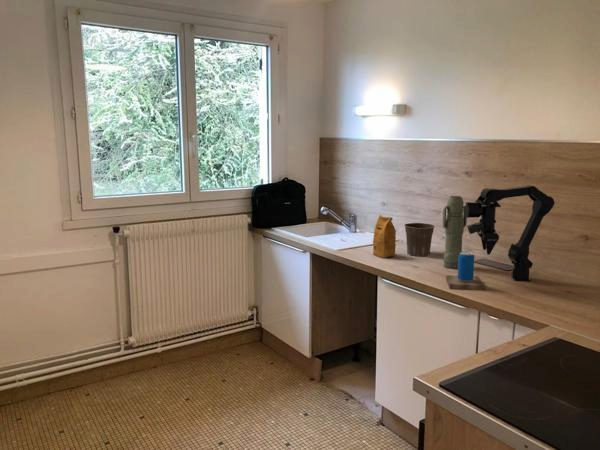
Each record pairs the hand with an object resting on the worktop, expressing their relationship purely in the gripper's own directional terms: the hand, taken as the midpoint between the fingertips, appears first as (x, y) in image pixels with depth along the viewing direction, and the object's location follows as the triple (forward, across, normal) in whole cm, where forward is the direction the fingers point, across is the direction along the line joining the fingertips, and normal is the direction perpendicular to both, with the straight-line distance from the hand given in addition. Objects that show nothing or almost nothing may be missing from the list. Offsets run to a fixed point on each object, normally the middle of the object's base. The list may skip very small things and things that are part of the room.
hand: (486, 252), depth 221 cm
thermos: (+13, -23, -11) cm, 29 cm away
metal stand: (+13, +8, -10) cm, 18 cm away
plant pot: (+13, -49, -26) cm, 57 cm away
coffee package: (+13, -43, -45) cm, 64 cm away
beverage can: (+11, +8, -10) cm, 17 cm away
